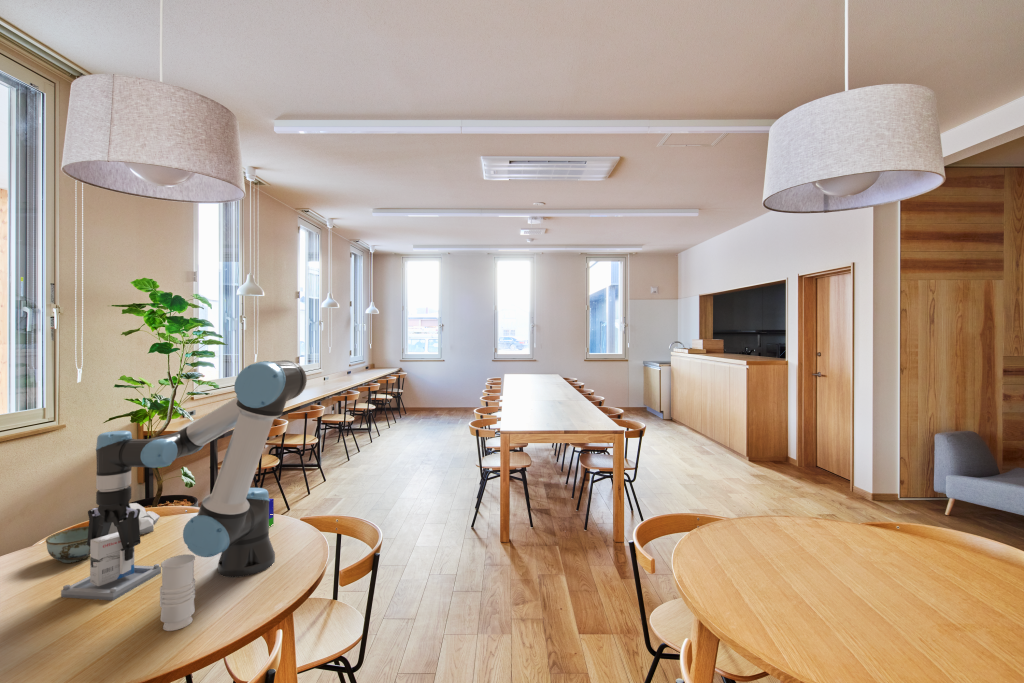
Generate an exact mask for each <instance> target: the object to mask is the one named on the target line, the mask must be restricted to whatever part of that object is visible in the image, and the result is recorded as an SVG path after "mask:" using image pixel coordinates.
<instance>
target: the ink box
mask: <svg viewBox="0 0 1024 683" xmlns="http://www.w3.org/2000/svg"><path fill="white" fill-rule="evenodd" d="M128 544H129V543H128ZM122 548H123V547H122V544H121V540H120V537H119V534H118V532H116V533H113V534H109V535H106V536H102V537H99V538H95V539H92V540H91V542H90V555H89V556H90V557H89V559H90V561H89V562H90V564H89V565H90V566H89V576H90V583H92V584H94V585H96V586H101V585H104V584H107V583H109V582H112V581H115V580H117V579H120V578H122V577H125V576H128V575H131V574H133V573H134V565H135V546H134V547H133V558H132V559H131V570H129V571H127V572H125V573H124V574H120V549H122Z"/></svg>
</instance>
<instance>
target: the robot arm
mask: <svg viewBox="0 0 1024 683" xmlns="http://www.w3.org/2000/svg"><path fill="white" fill-rule="evenodd" d="M307 382H308V381H307V374H306V372H305V370H304V369H303V367H302V366H301V365H300V364H298V363H297V362H295V361H292V360H286V359H285V360H274V361H269V360H268V361H267V360H264V361H258V362H256V363H252V364H249V365H247V366H246V367H244V368H243V369H241V371H240V372H239V373H238V375H237V376H236V379H235V382H234V385H233V387H234V393H236V397H234V398H233V399H231V400H229V401H228V402H226V403H224V404H222V405H221V406H219V407H217V408H216V409H214V410H212V411H211V412H208V413H207V414H205V415H203V416H202V417H200V418H198V419H197V420H196V421H193V422H192V423H190V424H189V425H187V426H185V427H183V428H182V429H179V430H178V431H175V432H172V433H169V434H165V435H160V436H156V437H151V438H147V439H145V438H142V439H141V438H137V439H136V438H133V436H132V435H133V434H132V432H131V431H130V430H113V431H106V432H102V433H100V434H99V435H97V438H96V445H95V446H96V448H95V454H96V456H95V457H96V476H95V477H96V479H95V481H96V483H95V484H96V485H95V486H96V487H95V488H96V492H95V493H96V495H95V496H96V497H95V499H96V500H95V504H96V505H97V507H95V508H92V509H89V510H87V515H88V526H89V527H88V539H87V545H88V546H90V542H91V540H92V539H95V538H99V537H102V536H106V535H108V533H109V530H110V527H111V524H112V522H113V523H114V526H116V527H117V530H118V534H119V537H120V540H121V544H122V547H123V548H122V549H120V574H124V573H125V572H127V571H129V570H131V559H132V558H133V547H134V548H135V547H136V546H138V545H140V544H141V535H140V528H139V514H140V509H136V510H134V509H131V508H130V505H129V503H130V501H131V499H132V486H131V484H132V467H133V468H152V469H156V468H165V467H168V466H170V465H171V464H172V463H173V462H174V461H175V460H176V459H179V458H181V457H182V458H183V457H185V456H189V455H193V454H195V453H197V452H199V451H200V450H202V449H203V447H204V446H205V445H207V444H209V443H210V442H212V441H214V440H215V439H217V438H219V437H221V436H223V435H224V434H226V433H227V432H229V431H232V430H233V432H232V434H231V437H230V440H229V443H228V446H227V449H226V451H225V454H224V457H223V460H222V463H221V466H220V468H219V472H218V474H217V477H216V480H215V483H214V485H213V489H212V491H211V493H210V494H208V495H206V496H205V497H203V499H202V501H201V503H200V506H199V510H198V513H197V514H196V515H195V516H193V517H191V518H190V520H188V521H187V522H186V524H185V525H184V528H183V530H182V539H183V542H184V544H185V545H186V546H187V549H188V551H190V552H191V553H192V554H193V555H194V556H195V555H196V556H198V557H201V558H212V557H215V556H217V555H219V554H220V557H219V560H218V563H217V573H218V574H219V575H220V576H222V577H225V578H242V577H243V578H244V577H248V576H253V575H256V574H259V573H261V572H264V571H266V570H268V569H270V568H271V567H272V566H273V565H274V564H275V561H276V552H275V551H274V548H273V544H272V542H271V539H270V535H269V533H270V530H269V529H270V527H269V501H270V500H269V499H270V496H269V491H268V490H267V489H266V488H263V487H251V486H252V483H253V480H254V477H255V474H256V471H257V468H258V466H259V463H260V459H261V456H262V455H263V452H264V448H265V446H266V444H267V440H268V437H269V435H270V432H271V429H272V426H273V423H274V420H275V419H277V418H279V417H281V416H282V415H283V412H284V409H285V407H286V403H287V402H289V401H290V400H292V399H296V398H298V397H299V396H300V395H301V394H302V393H303V392H304V390H305V388H306V385H307ZM122 520H123V521H122ZM119 521H121V522H119ZM128 543H129V544H128ZM273 563H274V564H273ZM272 564H273V565H272ZM270 566H271V567H270Z"/></svg>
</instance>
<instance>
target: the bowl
mask: <svg viewBox="0 0 1024 683" xmlns="http://www.w3.org/2000/svg"><path fill="white" fill-rule="evenodd" d="M88 527H89V525H87V526H81V527H75V528H71V529H67V530H66V529H65V530H62V531H59V532H57V533H54V534H51V535H49V536H48V537H47V538H46V539H45V542H46V550H47V553H48V554H49V556H50V557H51V558H53V559H54V560H57V561H60V562H61V563H63V564H70V563H71V562H72V563H75V562H76V561H77V562H80V561H83V560H86V559H87V558H88V557H89V556H90V546H88V545H87V539H88ZM77 562H76V563H77Z"/></svg>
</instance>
